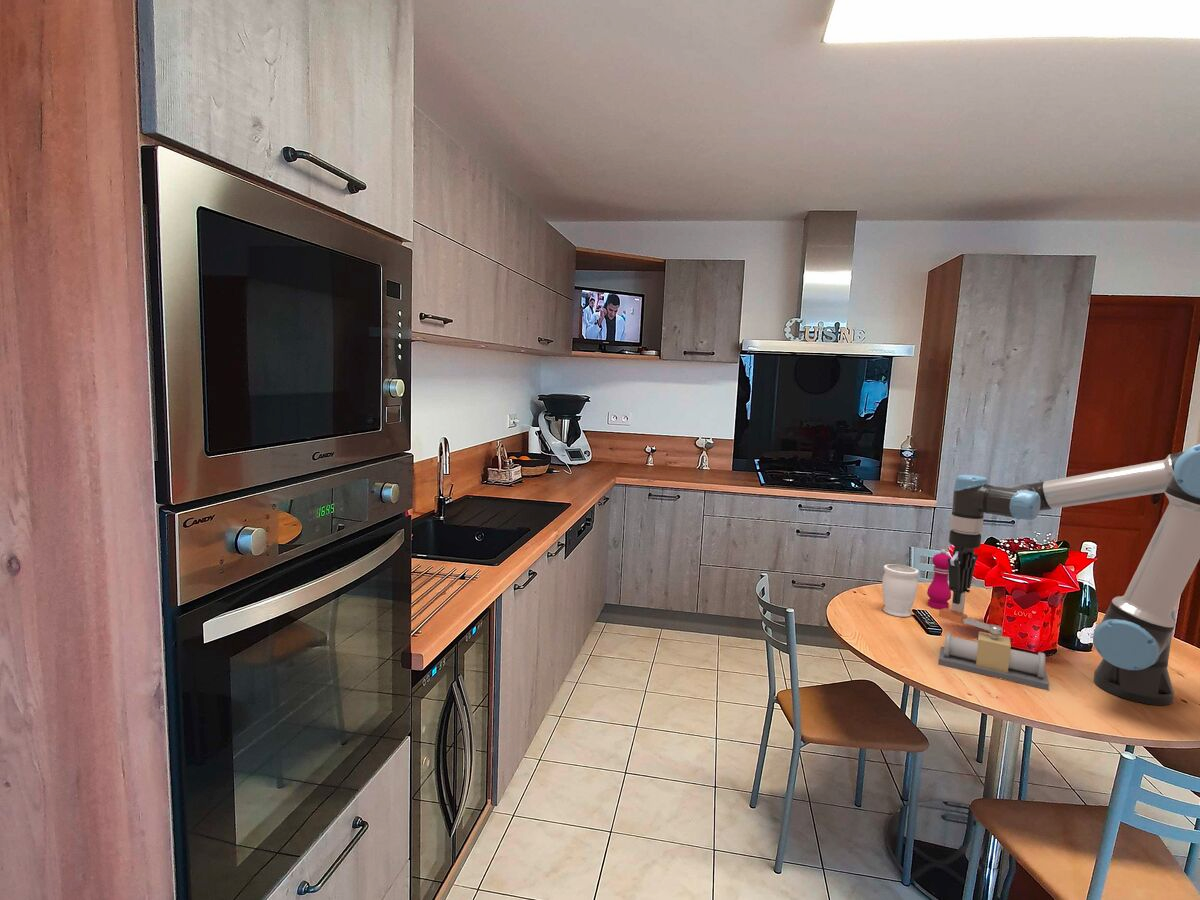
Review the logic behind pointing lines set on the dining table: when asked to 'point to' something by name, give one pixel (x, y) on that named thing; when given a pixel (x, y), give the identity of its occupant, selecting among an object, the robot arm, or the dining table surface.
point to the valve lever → (968, 621)
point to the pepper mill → (939, 582)
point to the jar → (899, 589)
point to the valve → (994, 659)
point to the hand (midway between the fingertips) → (956, 614)
